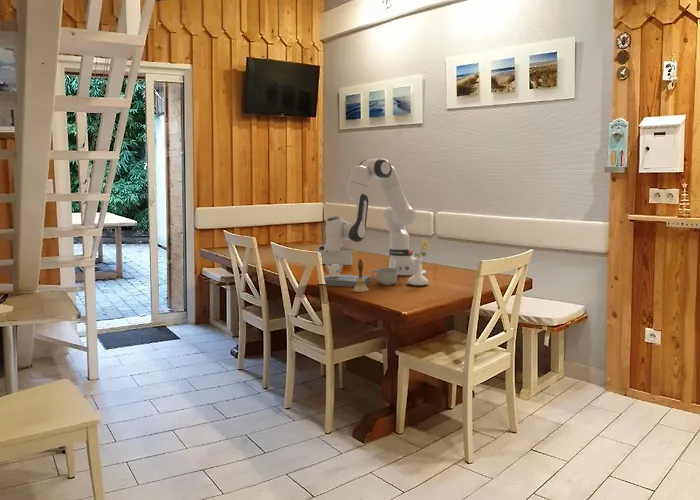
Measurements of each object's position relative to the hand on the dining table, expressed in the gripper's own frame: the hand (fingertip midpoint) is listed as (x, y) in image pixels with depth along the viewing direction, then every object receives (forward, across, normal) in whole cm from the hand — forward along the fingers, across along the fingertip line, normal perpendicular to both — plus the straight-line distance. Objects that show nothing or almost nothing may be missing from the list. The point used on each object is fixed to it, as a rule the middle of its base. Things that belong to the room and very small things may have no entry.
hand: (334, 272), depth 332 cm
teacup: (+6, -27, -5) cm, 28 cm away
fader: (+2, 0, 0) cm, 2 cm away
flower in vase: (+6, -45, -8) cm, 46 cm away
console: (+6, -6, 0) cm, 8 cm away
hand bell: (+6, -20, +15) cm, 26 cm away
